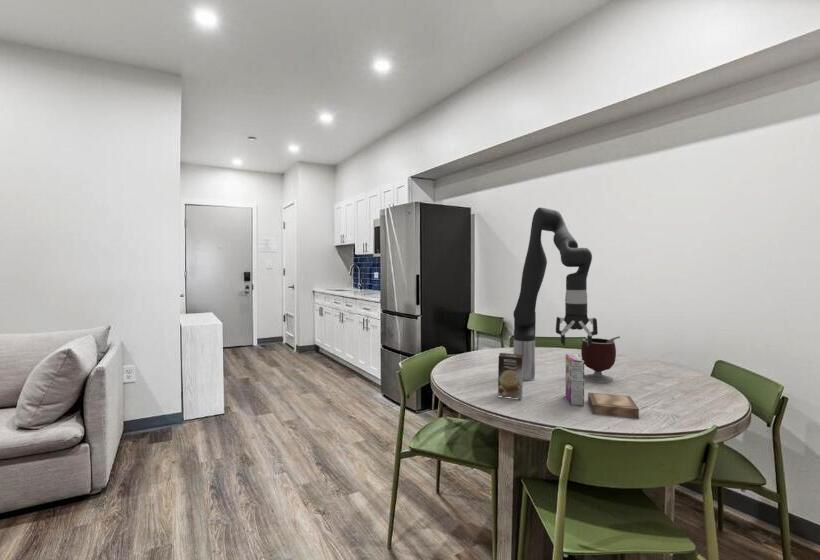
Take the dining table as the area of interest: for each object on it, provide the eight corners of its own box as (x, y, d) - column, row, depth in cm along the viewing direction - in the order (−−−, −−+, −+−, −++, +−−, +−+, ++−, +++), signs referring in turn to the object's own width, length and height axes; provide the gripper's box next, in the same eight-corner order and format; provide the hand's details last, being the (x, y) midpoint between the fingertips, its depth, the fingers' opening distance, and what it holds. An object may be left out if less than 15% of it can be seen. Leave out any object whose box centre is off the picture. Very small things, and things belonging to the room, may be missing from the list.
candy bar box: (564, 395, 159) (565, 353, 158) (578, 396, 158) (578, 354, 157) (569, 405, 148) (570, 360, 147) (584, 406, 147) (585, 360, 146)
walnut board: (592, 413, 140) (592, 404, 140) (588, 400, 153) (588, 392, 153) (638, 418, 136) (638, 408, 136) (629, 404, 149) (630, 395, 149)
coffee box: (497, 397, 156) (497, 355, 156) (499, 392, 162) (499, 352, 162) (522, 400, 153) (522, 357, 153) (523, 395, 160) (523, 354, 159)
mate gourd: (576, 379, 181) (577, 334, 180) (586, 373, 192) (587, 330, 191) (614, 386, 171) (615, 338, 170) (623, 379, 182) (624, 334, 181)
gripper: (556, 302, 150) (556, 346, 151) (598, 303, 146) (598, 348, 147) (555, 300, 157) (555, 343, 158) (595, 301, 153) (595, 344, 154)
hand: (576, 345), depth 152 cm, fingers open, 8 cm apart
